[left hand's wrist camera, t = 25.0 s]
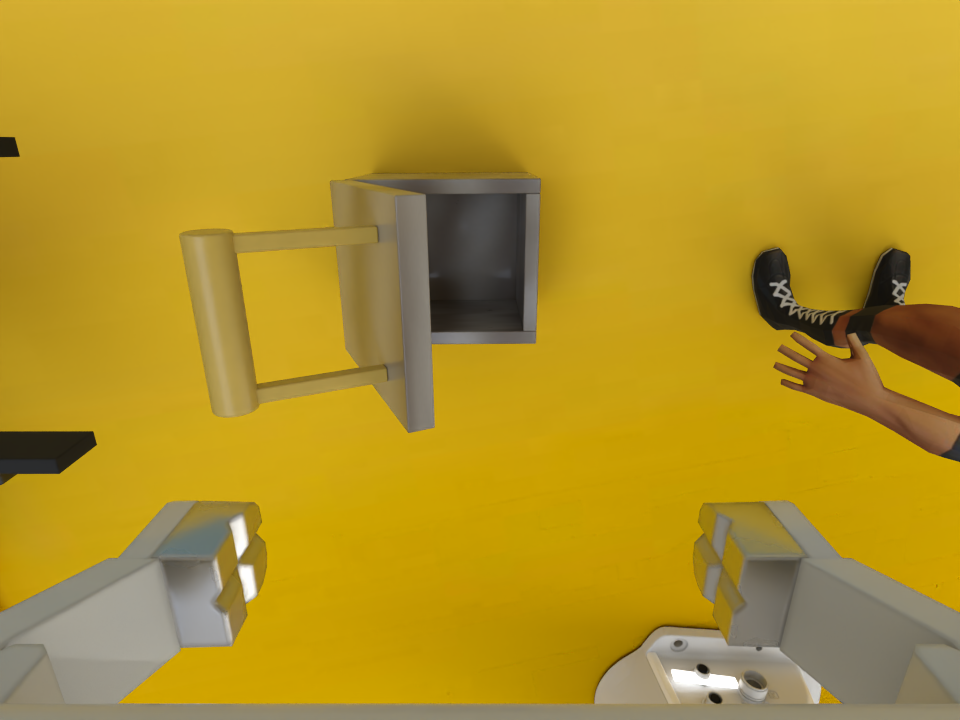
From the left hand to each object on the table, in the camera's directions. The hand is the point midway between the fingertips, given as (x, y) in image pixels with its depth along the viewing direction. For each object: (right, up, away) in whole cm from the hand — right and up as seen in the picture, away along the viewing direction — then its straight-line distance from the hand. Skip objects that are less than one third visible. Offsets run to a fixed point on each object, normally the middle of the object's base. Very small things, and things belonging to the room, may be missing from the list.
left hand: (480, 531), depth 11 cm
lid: (-5, +7, +18) cm, 20 cm away
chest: (-2, +12, +32) cm, 34 cm away
